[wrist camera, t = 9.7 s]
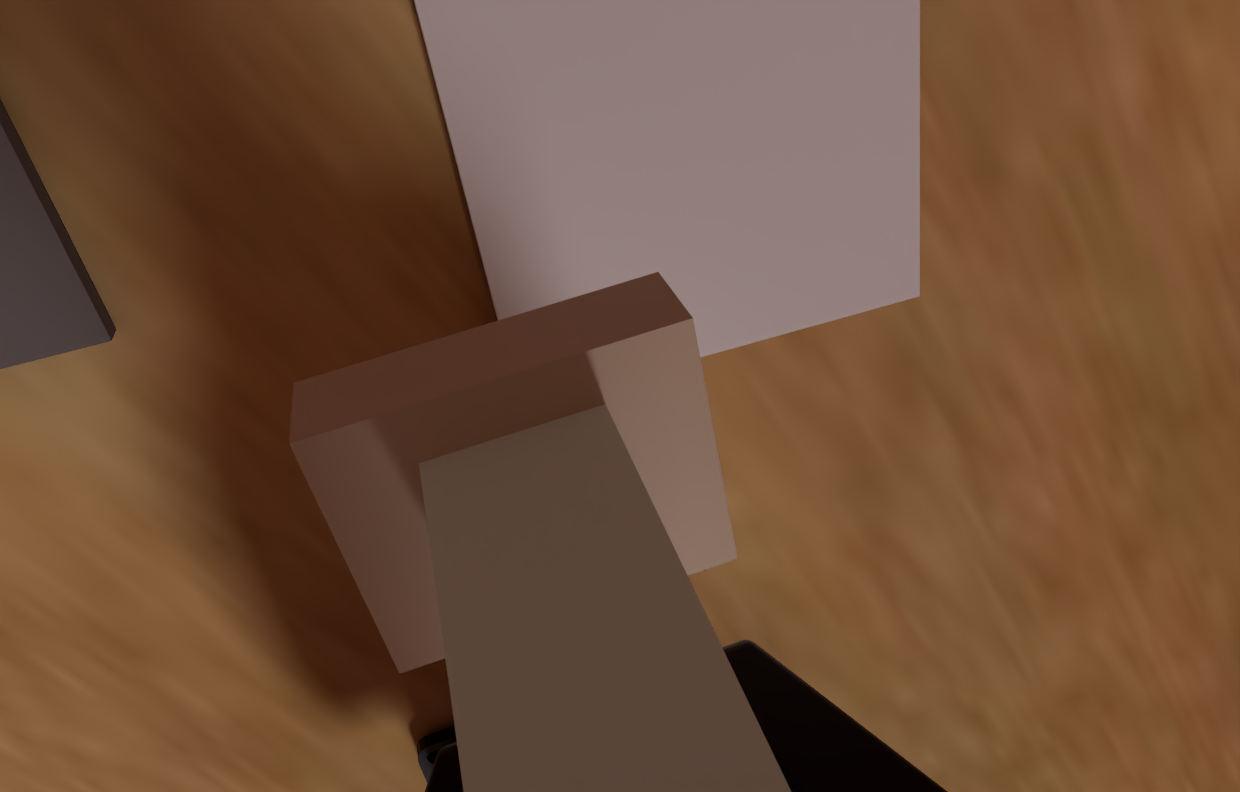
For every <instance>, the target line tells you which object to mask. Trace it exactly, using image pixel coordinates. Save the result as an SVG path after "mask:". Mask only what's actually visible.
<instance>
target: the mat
mask: <svg viewBox="0 0 1240 792" xmlns="http://www.w3.org/2000/svg"><path fill="white" fill-rule="evenodd" d="M115 331H116V329H115V327H114V325H113V323H112V321H111V319H110V317H109V315H108V313H107V311H106V309H105V307H104V305H103V303H102V301H101V299H100V297H99V295H98V293H97V291H96V289H95V287H94V285H93V283H92V281H91V279H90V277H89V275H88V273H87V271H86V269H85V267H84V265H83V263H82V261H81V259H80V257H79V255H78V253H77V251H76V249H75V247H74V245H73V243H72V241H71V239H70V238H69V236H68V234H67V232H66V230H65V228H64V226H63V224H62V222H61V220H60V218H59V216H58V214H57V212H56V210H55V208H54V206H53V204H52V202H51V200H50V198H49V196H48V194H47V192H46V190H45V188H44V186H43V184H42V182H41V180H40V178H39V176H38V174H37V172H36V170H35V168H34V166H33V164H32V162H31V160H30V158H29V156H28V154H27V152H26V150H25V148H24V146H23V144H22V142H21V140H20V138H19V136H18V134H17V132H16V130H15V128H14V126H13V124H12V122H11V121H10V119H9V117H8V115H7V113H6V111H5V109H4V107H3V105H2V103H1V101H0V369H2V368H6V367H10V366H14V365H18V364H22V363H26V362H30V361H34V360H38V359H41V358H45V357H49V356H53V355H57V354H61V353H65V352H69V351H73V350H77V349H81V348H85V347H88V346H92V345H96V344H100V343H104V342H108V341H111V340H112V338H113V336H114V333H115Z"/></svg>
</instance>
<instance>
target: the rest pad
mask: <svg viewBox="0 0 1240 792" xmlns="http://www.w3.org/2000/svg"><path fill="white" fill-rule="evenodd" d="M413 1H414V5H415V9H416V13H417V16H418V20H419V24H420V28H421V32H422V35H423V39H424V43H425V47H426V51H427V54H428V58H429V62H430V66H431V70H432V73H433V77H434V81H435V85H436V89H437V92H438V96H439V100H440V104H441V108H442V111H443V115H444V119H445V123H446V127H447V130H448V134H449V138H450V142H451V146H452V149H453V153H454V157H455V161H456V165H457V168H458V172H459V176H460V180H461V184H462V187H463V191H464V195H465V199H466V203H467V206H468V210H469V214H470V218H471V222H472V226H473V229H474V233H475V237H476V241H477V245H478V248H479V252H480V256H481V260H482V264H483V267H484V271H485V275H486V279H487V283H488V286H489V290H490V294H491V298H492V302H493V305H494V309H495V313H496V317H497V321H498V320H501V319H504V318H508V317H511V316H514V315H518V314H521V313H524V312H527V311H531V310H534V309H537V308H541V307H544V306H547V305H550V304H554V303H557V302H560V301H564V300H567V299H570V298H573V297H577V296H580V295H583V294H587V293H590V292H593V291H597V290H600V289H603V288H606V287H610V286H613V285H616V284H620V283H623V282H626V281H629V280H633V279H636V278H639V277H643V276H646V275H649V274H652V273H656V272H659V273H660V275H661V276H662V277H663V279H664V280H665V281H666V283H667V284H668V285H669V287H670V288H671V289H672V291H673V292H674V293H675V295H676V296H677V297H678V299H679V300H680V301H681V303H682V304H683V305H684V307H685V308H686V309H687V311H688V312H689V313H690V315H691V316H692V317H693V321H694V326H695V332H696V337H697V342H698V348H699V353H700V357H704V356H707V355H711V354H714V353H718V352H722V351H725V350H729V349H732V348H736V347H739V346H743V345H747V344H750V343H754V342H757V341H761V340H764V339H768V338H772V337H775V336H779V335H782V334H786V333H790V332H793V331H797V330H800V329H804V328H807V327H811V326H815V325H818V324H822V323H825V322H829V321H833V320H836V319H840V318H843V317H847V316H850V315H854V314H858V313H861V312H865V311H868V310H872V309H875V308H879V307H883V306H886V305H890V304H893V303H897V302H901V301H904V300H908V299H911V298H915V297H918V296H920V0H413Z"/></svg>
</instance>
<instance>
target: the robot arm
mask: <svg viewBox="0 0 1240 792" xmlns="http://www.w3.org/2000/svg"><path fill="white" fill-rule="evenodd" d="M722 648H723V650H724V652H725V655H726V657H727V659H728V661H729V663H730V665H731V667H732V669H733V671H734V673H735V675H736V677H737V680H738V682H739V684H740V686H741V688H742V690H743V692H744V694H745V696H746V698H747V700H748V702H749V705H750V707H751V709H752V711H753V713H754V715H755V717H756V719H757V721H758V723H759V725H760V727H761V730H762V732H763V734H764V736H765V738H766V740H767V742H768V744H769V746H770V748H771V750H772V752H773V755H774V757H775V759H776V761H777V763H778V765H779V767H780V769H781V771H782V773H783V775H784V778H785V780H786V782H787V784H788V786H789V788H790V790H791V792H947V791H946V790H945V789H943V788H942V787H941V786H939V785H938V784H937V783H936V782H934V781H933V780H932V779H930V778H929V777H928V776H926V775H925V774H924V773H923V772H921V771H920V770H919V769H917V768H916V767H915V766H913V765H912V764H911V763H910V762H908V761H907V760H906V759H904V758H903V757H902V756H900V755H899V754H898V753H897V752H895V751H894V750H893V749H891V748H890V747H889V746H888V745H886V744H885V743H884V742H882V741H881V740H880V739H878V738H877V737H876V736H875V735H873V734H872V733H871V732H869V731H868V730H867V729H865V728H864V727H863V726H862V725H860V724H859V723H858V722H856V721H855V720H854V719H853V718H851V717H850V716H849V715H847V714H846V713H845V712H843V711H842V710H841V709H840V708H838V707H837V706H836V705H834V704H833V703H832V702H830V701H829V700H828V699H827V698H825V697H824V696H823V695H821V694H820V693H819V692H818V691H816V690H815V689H814V688H812V687H811V686H810V685H808V684H807V683H806V682H805V681H803V680H802V679H801V678H799V677H798V676H797V675H795V674H794V673H793V672H792V671H790V670H789V669H788V668H786V667H785V666H784V665H782V664H781V663H780V662H779V661H777V660H776V659H775V658H773V657H772V656H771V655H770V654H768V653H767V652H766V651H764V650H763V649H762V648H760V647H759V646H758V645H756V644H755V643H754V642H752V641H749V640H742V641H739V642H736V643H734V644H731V645H728V646H725V647H722ZM435 750H439V751H436V752H432V751H435ZM417 752H418V761H419V764H420V767H421V769H422V771H423V774H424V776H425V778H426V781H427V783H428V784H427V787H426V790H425V792H464V791H463V784H462V776H461V769H460V762H459V754H458V747H457V740H456V733H455V726H453V727H450V728H447V729H444V730H441V731H438V732H435V733H432V734H429V735H427V736H425V737H423V738H422V739H421V740H420V741H419V743H418V745H417Z"/></svg>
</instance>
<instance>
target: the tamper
mask: <svg viewBox="0 0 1240 792" xmlns="http://www.w3.org/2000/svg"><path fill="white" fill-rule="evenodd" d="M289 445H290V447H291V449H292V451H293V453H294V455H295V458H296V460H297V462H298V464H299V466H300V468H301V470H302V472H303V474H304V476H305V478H306V480H307V483H308V485H309V487H310V489H311V491H312V493H313V495H314V497H315V499H316V501H317V503H318V505H319V507H320V510H321V512H322V514H323V516H324V518H325V520H326V522H327V524H328V526H329V528H330V530H331V532H332V535H333V537H334V539H335V541H336V543H337V545H338V547H339V549H340V551H341V553H342V555H343V557H344V559H345V562H346V564H347V566H348V568H349V570H350V572H351V574H352V576H353V578H354V580H355V582H356V584H357V586H358V589H359V591H360V593H361V595H362V597H363V599H364V601H365V603H366V605H367V607H368V609H369V611H370V614H371V616H372V618H373V620H374V622H375V624H376V626H377V628H378V630H379V632H380V634H381V636H382V638H383V641H384V643H385V645H386V647H387V649H388V651H389V653H390V655H391V657H392V659H393V661H394V663H395V666H396V668H397V670H398V672H399V674H401V673H404V672H407V671H410V670H412V669H415V668H418V667H421V666H424V665H427V664H430V663H433V662H436V661H439V660H442V659H446V667H447V674H448V681H449V689H450V696H451V703H452V711H453V718H454V725H455V733H456V740H457V747H458V754H459V762H460V769H461V776H462V784H463V791H464V792H791V790H790V788H789V786H788V784H787V782H786V780H785V778H784V775H783V773H782V771H781V769H780V767H779V765H778V763H777V761H776V759H775V757H774V755H773V752H772V750H771V748H770V746H769V744H768V742H767V740H766V738H765V736H764V734H763V732H762V730H761V727H760V725H759V723H758V721H757V719H756V717H755V715H754V713H753V711H752V709H751V707H750V705H749V702H748V700H747V698H746V696H745V694H744V692H743V690H742V688H741V686H740V684H739V682H738V680H737V677H736V675H735V673H734V671H733V669H732V667H731V665H730V663H729V661H728V659H727V657H726V655H725V652H724V650H723V648H722V646H721V644H720V642H719V640H718V638H717V636H716V634H715V632H714V629H713V627H712V625H711V623H710V621H709V619H708V617H707V615H706V613H705V611H704V609H703V607H702V604H701V602H700V600H699V598H698V596H697V594H696V592H695V590H694V588H693V586H692V584H691V582H690V579H689V577H688V575H691V574H694V573H697V572H700V571H703V570H706V569H709V568H712V567H715V566H718V565H721V564H723V563H726V562H729V561H732V560H735V559H738V558H737V553H736V547H735V542H734V536H733V531H732V526H731V520H730V515H729V509H728V504H727V499H726V493H725V488H724V483H723V477H722V472H721V466H720V461H719V456H718V450H717V445H716V439H715V434H714V429H713V423H712V418H711V412H710V407H709V402H708V396H707V391H706V386H705V380H704V375H703V369H702V364H701V359H700V353H699V348H698V342H697V337H696V332H695V326H694V321H693V317H692V316H691V315H690V313H689V312H688V311H687V309H686V308H685V307H684V305H683V304H682V303H681V301H680V300H679V299H678V297H677V296H676V295H675V293H674V292H673V291H672V289H671V288H670V287H669V285H668V284H667V283H666V281H665V280H664V279H663V277H662V276H661V275H660V273H659V272H656V273H652V274H649V275H646V276H643V277H639V278H636V279H633V280H629V281H626V282H623V283H620V284H616V285H613V286H610V287H606V288H603V289H600V290H597V291H593V292H590V293H587V294H583V295H580V296H577V297H573V298H570V299H567V300H564V301H560V302H557V303H554V304H550V305H547V306H544V307H541V308H537V309H534V310H531V311H527V312H524V313H521V314H518V315H514V316H511V317H508V318H504V319H501V320H498V321H495V322H491V323H488V324H485V325H481V326H478V327H475V328H472V329H468V330H465V331H462V332H458V333H455V334H452V335H449V336H445V337H442V338H439V339H435V340H432V341H429V342H426V343H422V344H419V345H416V346H412V347H409V348H406V349H403V350H399V351H396V352H393V353H389V354H386V355H383V356H380V357H376V358H373V359H370V360H366V361H363V362H360V363H357V364H353V365H350V366H347V367H343V368H340V369H337V370H333V371H330V372H327V373H324V374H320V375H317V376H314V377H310V378H307V379H304V380H301V381H297V382H294V383H293V393H292V407H291V421H290V435H289Z"/></svg>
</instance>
